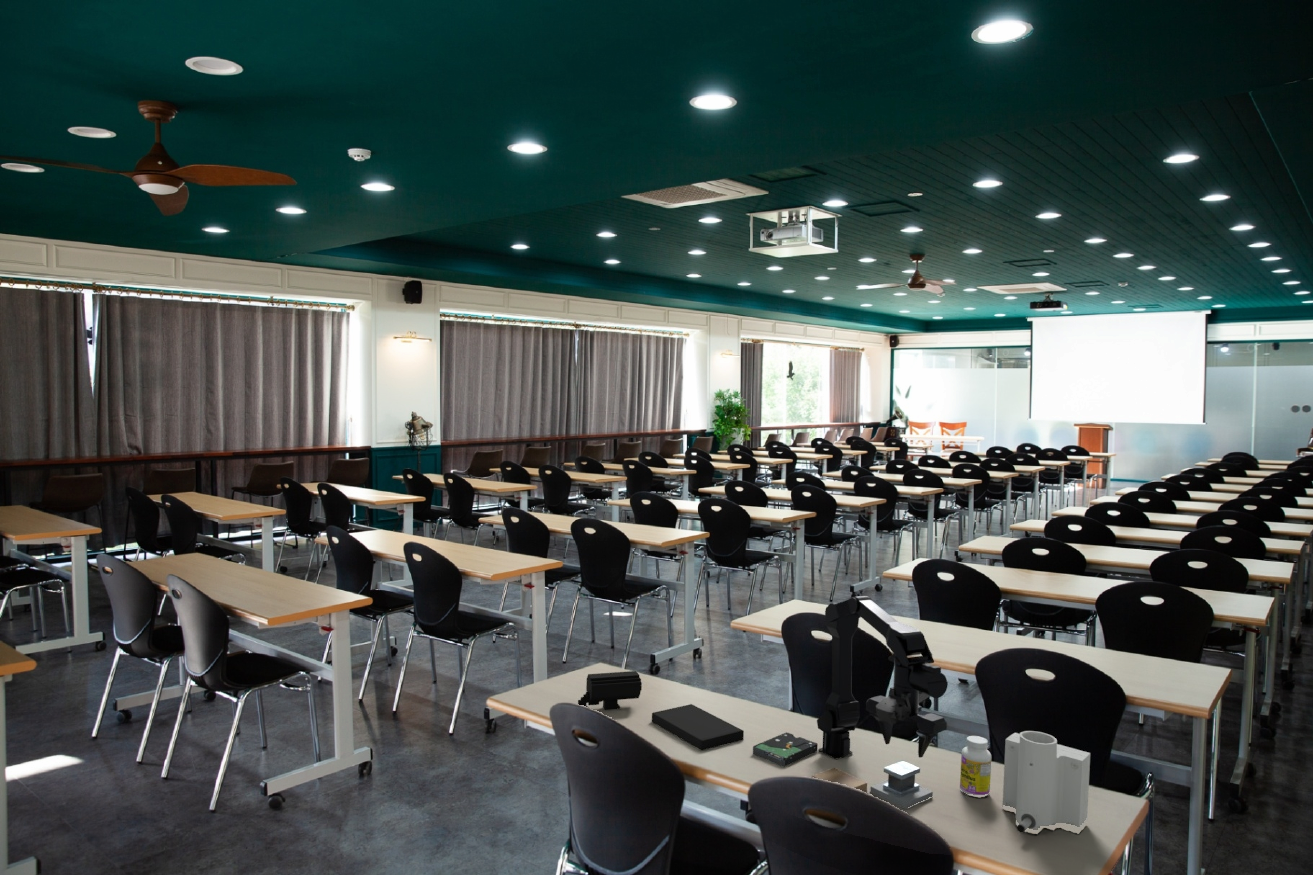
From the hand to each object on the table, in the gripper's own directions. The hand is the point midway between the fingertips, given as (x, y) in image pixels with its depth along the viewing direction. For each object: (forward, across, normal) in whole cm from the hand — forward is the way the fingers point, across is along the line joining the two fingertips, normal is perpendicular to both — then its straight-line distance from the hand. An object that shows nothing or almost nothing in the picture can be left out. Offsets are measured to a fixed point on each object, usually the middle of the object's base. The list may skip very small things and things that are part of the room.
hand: (903, 750), depth 198 cm
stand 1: (+11, -11, -9) cm, 18 cm away
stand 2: (+11, 0, 0) cm, 11 cm away
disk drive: (+11, -33, -5) cm, 35 cm away
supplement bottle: (+11, +9, +16) cm, 21 cm away
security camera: (+11, -84, -25) cm, 88 cm away
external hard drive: (+11, -57, -15) cm, 60 cm away
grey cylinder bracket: (+11, +26, +12) cm, 31 cm away
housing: (+9, 0, 0) cm, 9 cm away
